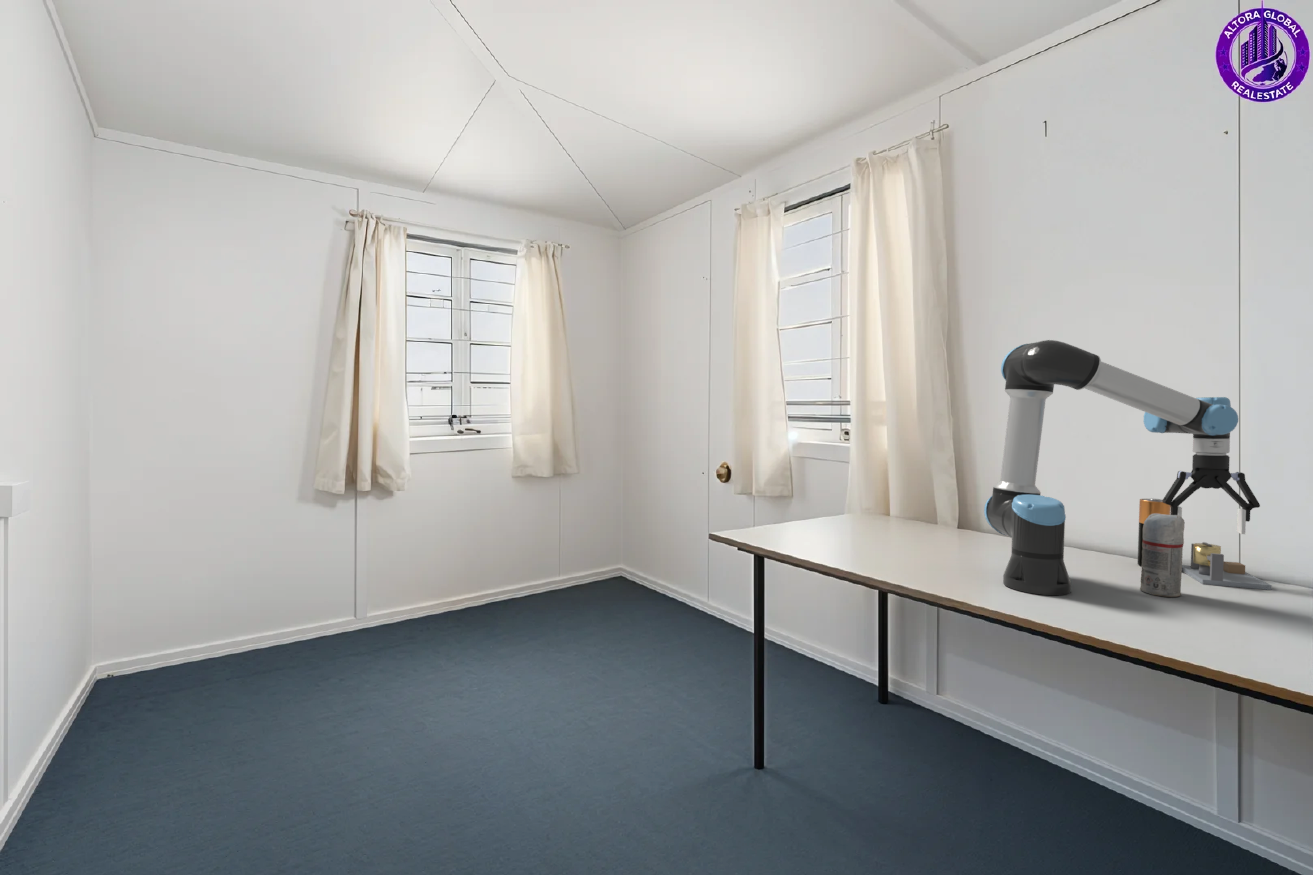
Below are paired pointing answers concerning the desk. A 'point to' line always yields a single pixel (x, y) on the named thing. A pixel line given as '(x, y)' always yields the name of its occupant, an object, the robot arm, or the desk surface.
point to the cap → (1204, 552)
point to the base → (1223, 573)
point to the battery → (1145, 510)
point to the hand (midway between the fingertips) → (1209, 531)
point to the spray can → (1162, 555)
